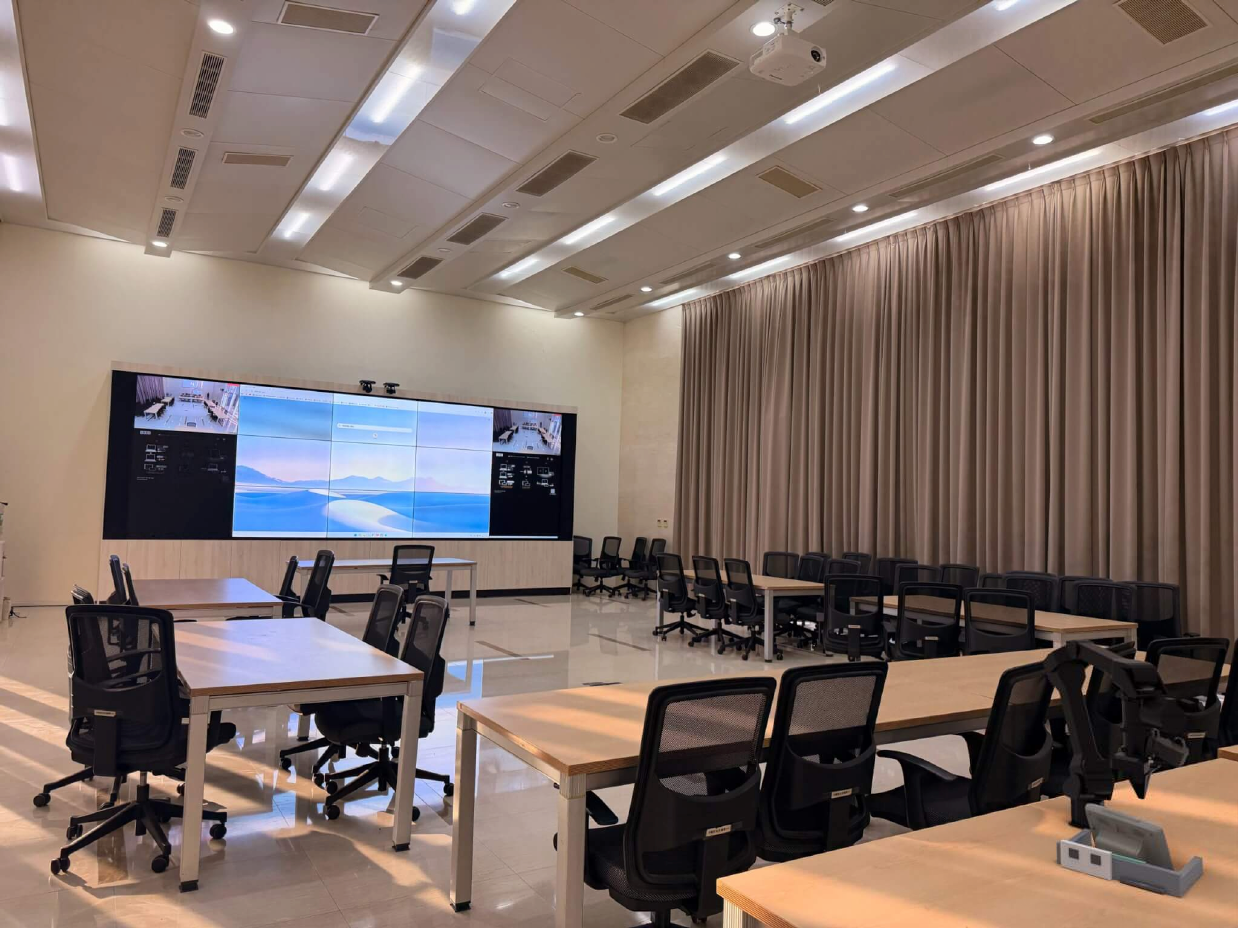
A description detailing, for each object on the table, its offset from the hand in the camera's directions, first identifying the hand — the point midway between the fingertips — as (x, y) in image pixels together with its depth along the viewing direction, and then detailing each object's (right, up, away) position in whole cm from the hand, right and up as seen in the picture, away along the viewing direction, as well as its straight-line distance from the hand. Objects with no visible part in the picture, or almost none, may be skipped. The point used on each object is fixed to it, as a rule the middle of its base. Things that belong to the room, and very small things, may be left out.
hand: (1141, 798), depth 175 cm
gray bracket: (-8, -11, -8) cm, 15 cm away
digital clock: (-6, -12, -6) cm, 14 cm away
